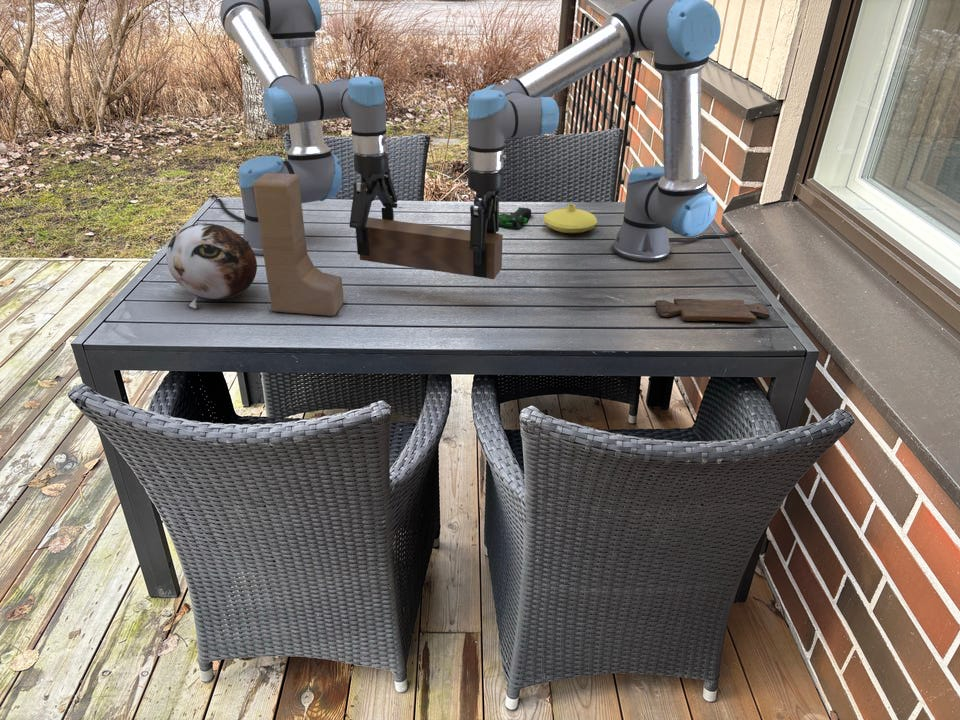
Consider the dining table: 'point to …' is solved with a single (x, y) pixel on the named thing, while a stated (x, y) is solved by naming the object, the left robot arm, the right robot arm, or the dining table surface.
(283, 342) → the dining table surface
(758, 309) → the wooden paddle board
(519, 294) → the dining table surface
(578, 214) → the yellow round domed disc
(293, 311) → the decorative block
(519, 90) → the right robot arm
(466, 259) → the bar
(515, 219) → the handgun
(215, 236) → the cat face balloon
